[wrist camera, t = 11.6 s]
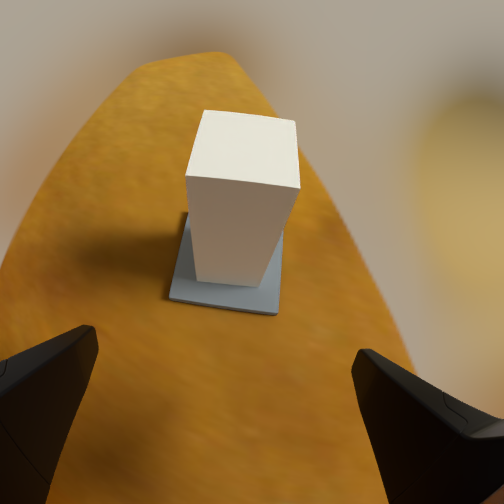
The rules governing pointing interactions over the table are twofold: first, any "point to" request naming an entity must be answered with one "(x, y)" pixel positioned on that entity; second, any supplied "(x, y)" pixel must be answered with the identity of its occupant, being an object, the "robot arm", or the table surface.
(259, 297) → the slate mat
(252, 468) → the table surface
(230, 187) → the tall block
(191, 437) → the table surface
